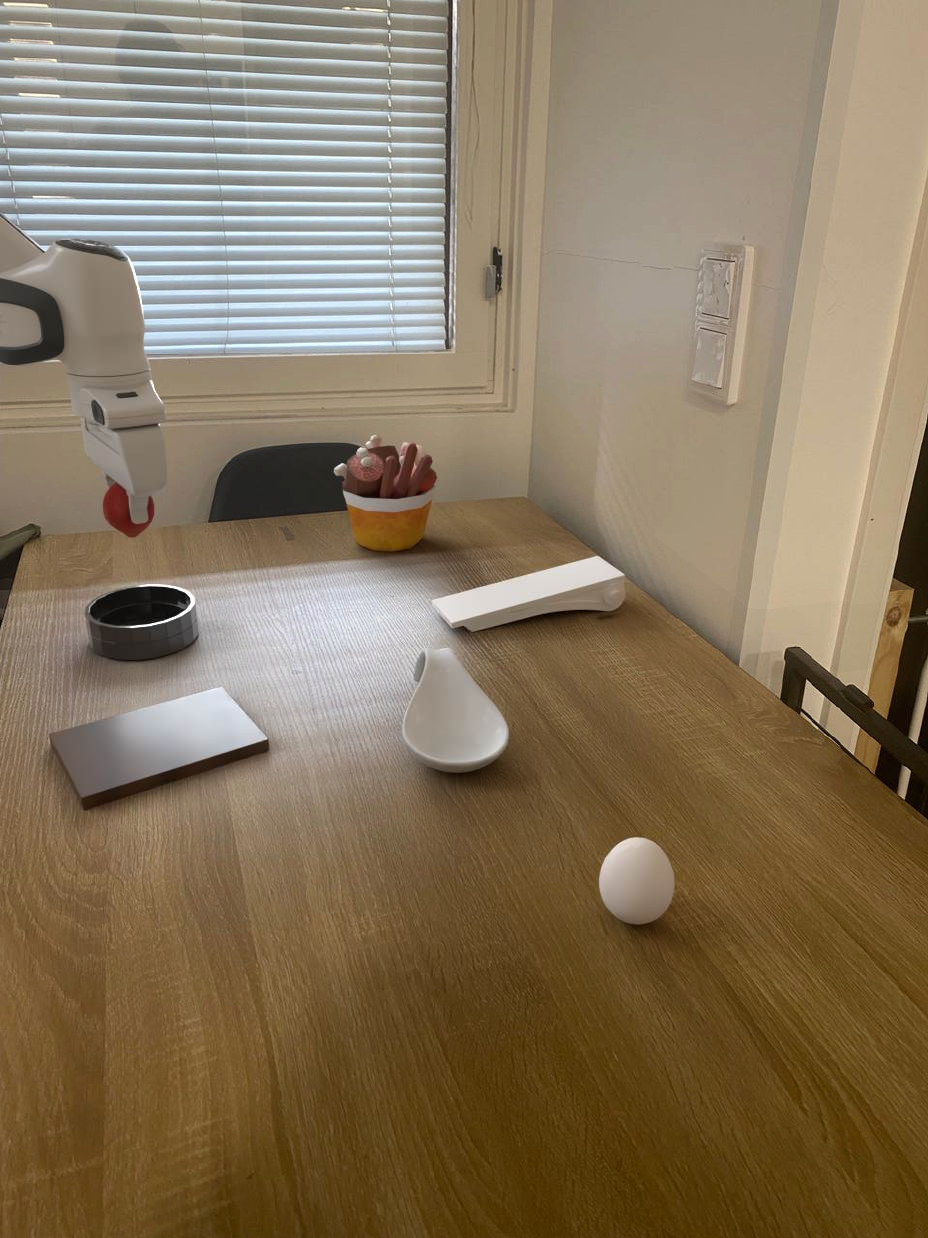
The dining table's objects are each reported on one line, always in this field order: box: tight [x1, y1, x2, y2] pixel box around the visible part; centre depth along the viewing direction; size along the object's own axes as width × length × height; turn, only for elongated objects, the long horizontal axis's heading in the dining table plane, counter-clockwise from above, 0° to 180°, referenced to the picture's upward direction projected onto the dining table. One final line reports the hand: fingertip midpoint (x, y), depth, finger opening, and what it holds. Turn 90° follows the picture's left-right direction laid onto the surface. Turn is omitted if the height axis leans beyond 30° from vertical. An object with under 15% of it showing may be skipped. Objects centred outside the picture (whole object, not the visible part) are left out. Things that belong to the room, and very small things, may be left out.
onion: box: [102, 482, 155, 539], centre depth 108 cm, size 6×6×8 cm
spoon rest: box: [401, 647, 510, 774], centre depth 105 cm, size 24×12×7 cm, turn 11°
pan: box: [84, 584, 199, 661], centre depth 125 cm, size 14×14×5 cm
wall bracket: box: [431, 555, 627, 633], centre depth 137 cm, size 10×7×28 cm
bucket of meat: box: [333, 434, 438, 552], centre depth 158 cm, size 20×16×20 cm
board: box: [48, 686, 270, 811], centre depth 101 cm, size 20×14×2 cm
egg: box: [598, 836, 675, 926], centre depth 78 cm, size 6×6×8 cm
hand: (129, 513), depth 108 cm, fingers closed on onion, 6 cm apart
